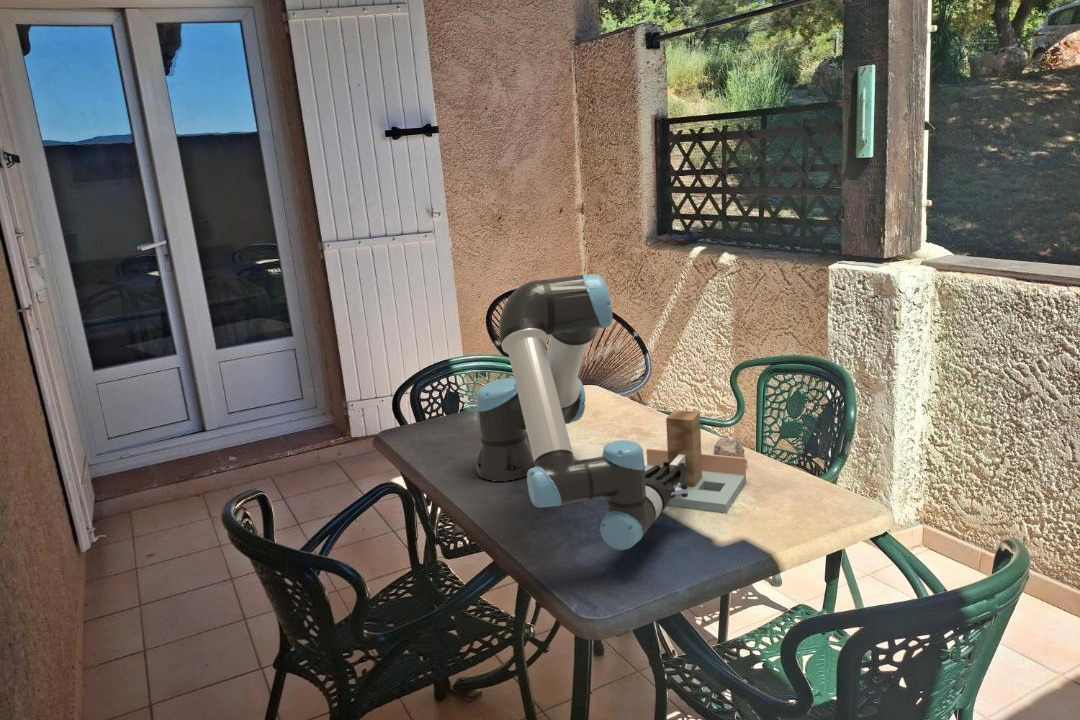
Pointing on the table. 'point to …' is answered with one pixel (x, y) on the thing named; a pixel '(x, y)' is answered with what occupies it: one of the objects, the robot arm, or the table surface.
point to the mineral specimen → (729, 448)
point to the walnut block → (685, 442)
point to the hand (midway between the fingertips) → (682, 460)
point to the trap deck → (708, 481)
